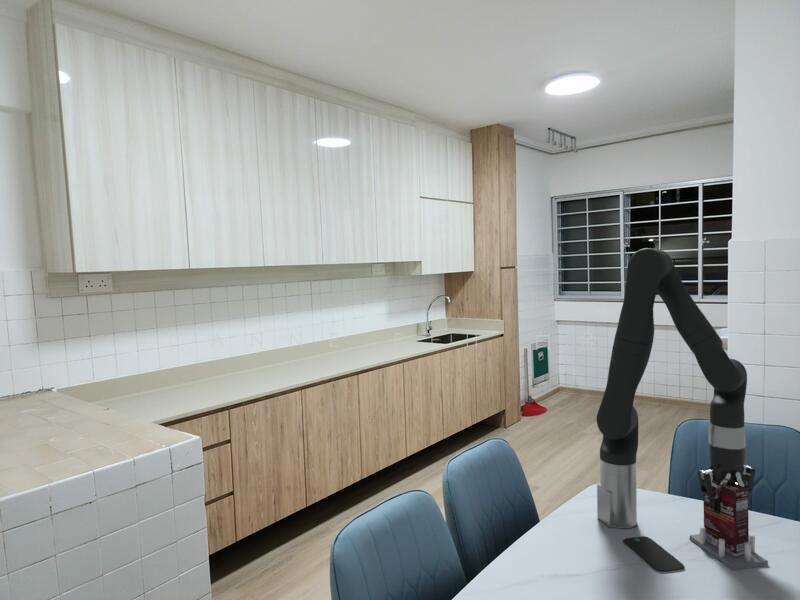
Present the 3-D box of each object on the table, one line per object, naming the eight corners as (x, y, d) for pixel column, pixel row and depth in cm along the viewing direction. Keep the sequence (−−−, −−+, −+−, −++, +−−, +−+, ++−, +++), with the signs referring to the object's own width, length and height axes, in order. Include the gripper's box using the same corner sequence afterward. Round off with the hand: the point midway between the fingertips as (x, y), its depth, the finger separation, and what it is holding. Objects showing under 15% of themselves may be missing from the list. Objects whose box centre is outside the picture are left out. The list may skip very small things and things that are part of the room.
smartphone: (647, 535, 134) (688, 567, 119) (647, 538, 134) (688, 571, 119) (620, 538, 133) (658, 571, 118) (620, 541, 133) (658, 575, 118)
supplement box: (702, 541, 129) (701, 478, 129) (716, 537, 131) (715, 475, 131) (736, 558, 121) (734, 491, 121) (750, 553, 123) (749, 487, 122)
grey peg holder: (733, 570, 119) (733, 548, 118) (688, 539, 132) (688, 520, 132) (768, 564, 120) (768, 543, 120) (721, 534, 134) (721, 516, 134)
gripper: (740, 435, 130) (739, 501, 131) (689, 440, 127) (689, 507, 128) (766, 444, 122) (765, 514, 123) (712, 450, 120) (712, 521, 121)
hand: (726, 510), depth 126 cm, fingers open, 5 cm apart
